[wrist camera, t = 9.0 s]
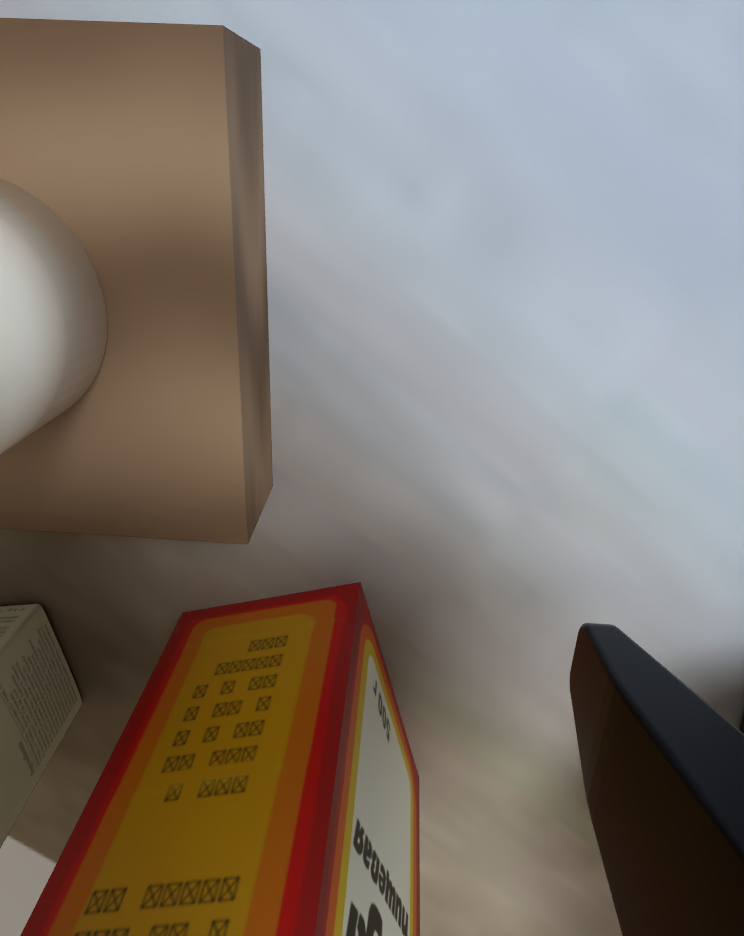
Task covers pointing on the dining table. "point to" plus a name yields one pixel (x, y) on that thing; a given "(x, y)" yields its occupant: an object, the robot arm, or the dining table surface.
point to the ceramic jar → (44, 316)
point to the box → (30, 705)
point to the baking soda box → (252, 787)
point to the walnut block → (148, 275)
